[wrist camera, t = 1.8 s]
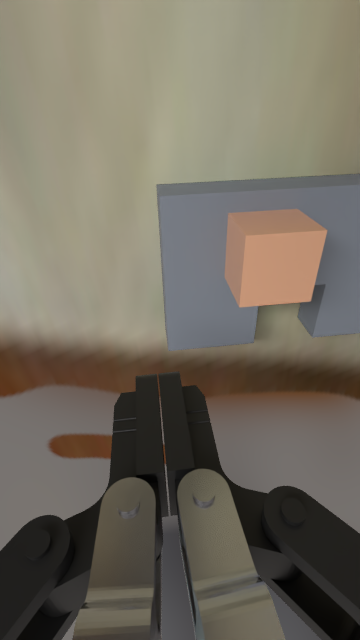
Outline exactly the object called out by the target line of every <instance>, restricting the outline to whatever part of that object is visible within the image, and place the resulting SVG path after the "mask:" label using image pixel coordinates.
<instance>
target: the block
mask: <svg viewBox="0 0 360 640" xmlns="http://www.w3.org/2000/svg"><path fill="white" fill-rule="evenodd" d="M326 234H327V230H326V229H325V228H324V227H322V226H321V225H319V224H318V223H317V222H315V221H314V220H312V219H311V218H310V217H308V216H307V215H305V214H304V213H303V212H301V211H300V210H298V209H285V210H269V211H253V212H237V213H228V225H227V242H226V260H225V279H226V281H227V283H228V285H229V287H230V290H231V292H232V294H233V296H234V298H235V300H236V302H237V304H238V306H239V307H251V306H263V305H275V304H287V303H299V302H310V301H311V298H312V294H313V290H314V285H315V281H316V277H317V273H318V268H319V264H320V260H321V256H322V251H323V247H324V243H325V239H326Z"/></svg>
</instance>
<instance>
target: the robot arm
mask: <svg viewBox="0 0 360 640" xmlns="http://www.w3.org/2000/svg"><path fill="white" fill-rule="evenodd" d="M159 384H160V396H161V407H162V419H163V429H164V430H163V431H164V443H165V454H166V466H167V477H168V489H169V501H170V512H171V516H172V515H178V525H179V534H180V546H181V553H182V559H183V565H184V571H185V576H186V583H187V588H188V594H189V600H190V606H191V612H192V617H193V624H194V630H195V638H196V640H285V637H284V634H283V631H282V628H281V625H280V622H279V619H278V616H277V613H276V610H275V607H274V604H273V601H272V598H271V596H270V594H269V591H268V588H267V587H266V585H265V583H266V584H267V585H268V586H269V587H270V588H271V589H272V590H273V591H274V592H275V593H276V594H277V595H278V596H279V597H280V598H281V599H282V600H283V601H284V602H285V603H286V604H287V605H288V606H289V607H290V608H291V609H292V610H293V611H294V612H295V613H296V614H297V615H298V616H299V617H300V618H301V619H302V620H303V621H304V622H305V623H306V624H307V625H308V626H309V627H310V628H311V629H312V630H313V631H314V632H315V633H316V634H317V635H318V636H319V637H320V638H321V639H322V640H360V534H359V533H358V532H357V531H355V530H354V529H353V528H352V527H350V526H349V525H347V524H346V523H345V522H344V521H342V520H341V519H340V518H338V517H337V516H336V515H334V514H333V513H332V512H330V511H329V510H328V509H326V508H325V507H324V506H322V505H321V504H320V503H318V502H317V501H316V500H315V499H313V498H312V497H311V496H309V495H308V494H307V493H305V492H304V491H302V490H300V489H297V488H295V487H291V486H280V487H277V488H274V489H273V490H272V491H270V492H269V493H268V494H267V493H263V492H258V491H253V490H249V489H245V488H242V487H240V486H238V485H236V484H234V483H233V482H232V481H231V480H229V478H228V477H227V476H226V475H225V474H224V472H223V470H222V468H221V465H220V461H219V457H218V452H217V448H216V444H215V440H214V435H213V431H212V427H211V423H210V418H209V414H208V409H207V405H206V401H205V396H204V395H203V394H202V392H201V391H200V390H199V389H198V387H197V386H196V385H194V386H184V387H182V385H181V379H180V373H179V372H170V373H160V374H159ZM166 516H168V504H167V491H166V478H165V465H164V453H163V441H162V429H161V417H160V404H159V393H158V382H157V374H151V375H141V376H136V392H127V393H121V395H120V397H119V398H118V400H117V402H116V404H115V406H114V423H113V435H112V450H111V465H110V479H109V483H108V487H107V489H106V491H105V493H104V494H103V496H102V497H101V498H100V499H99V501H97V503H95V504H94V505H93V506H91V507H90V508H88V509H87V510H85V511H83V512H81V513H79V514H76V515H74V516H73V517H70V518H68V519H66V520H64V521H63V520H62V519H61V518H59V517H57V516H54V515H45V516H40V517H38V518H35V519H33V520H32V521H30V522H28V523H27V524H26V525H24V526H23V527H22V528H21V530H19V531H18V533H17V534H16V535H15V536H14V537H13V538H12V539H11V540H10V541H9V542H8V543H7V544H6V546H5V547H4V548H3V549H2V550H1V551H0V640H61V639H62V638H63V637H64V635H65V634H66V632H67V631H68V629H69V628H70V626H71V625H72V623H73V622H74V620H75V619H76V617H77V619H76V623H75V628H74V633H73V638H72V640H162V638H161V609H162V608H161V606H162V601H161V600H162V594H161V593H162V546H163V529H162V517H166ZM258 575H259V576H260V577H261V578H260V577H259V576H258ZM264 582H265V583H264Z"/></svg>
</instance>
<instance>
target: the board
mask: <svg viewBox="0 0 360 640" xmlns="http://www.w3.org/2000/svg"><path fill="white" fill-rule="evenodd" d="M157 200H158V216H159V231H160V247H161V263H162V279H163V295H164V310H165V326H166V335H167V343H168V350H169V351H172V350H183V349H194V348H205V347H215V346H226V345H237V344H247V343H254V336H255V328H256V321H257V313H258V306H251V307H239V306H238V304H237V302H236V300H235V298H234V296H233V294H232V292H231V290H230V287H229V285H228V283H227V281H226V279H225V260H226V242H227V225H228V213H237V212H253V211H269V210H285V209H298V210H300V211H301V212H303V213H304V214H305V215H307V216H308V217H310V218H311V219H312V220H314V221H315V222H317V223H318V224H319V225H321V226H322V227H324V228H325V229H326V230H327V234H326V239H325V243H324V247H323V251H322V256H321V260H320V264H319V268H318V273H317V277H316V281H315V285H314V290H313V294H312V298H311V301H310V302H301V304H300V309H299V313H298V318H299V320H300V321H301V323H302V324H303V325H304V327H305V328H306V329H307V331H308V332H309V334H310V335H311V336H312V337H322V336H333V335H344V334H355V333H360V174H346V175H327V176H309V177H290V178H271V179H253V180H234V181H216V182H197V183H179V184H160V185H157Z"/></svg>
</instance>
